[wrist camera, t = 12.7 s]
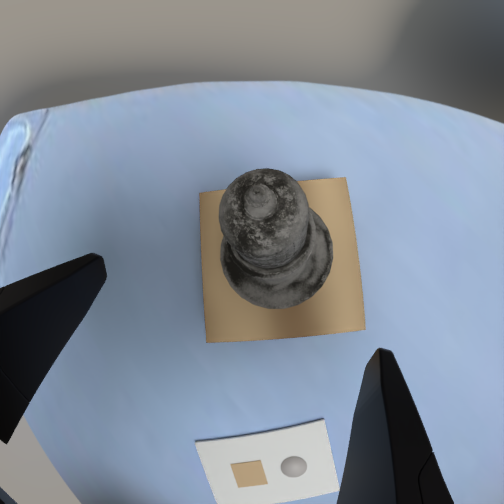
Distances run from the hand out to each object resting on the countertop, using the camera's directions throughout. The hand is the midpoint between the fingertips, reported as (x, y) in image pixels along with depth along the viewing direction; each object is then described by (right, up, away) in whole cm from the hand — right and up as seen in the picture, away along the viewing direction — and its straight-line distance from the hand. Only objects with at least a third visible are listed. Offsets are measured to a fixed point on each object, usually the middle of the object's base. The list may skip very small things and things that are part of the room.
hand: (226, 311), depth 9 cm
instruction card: (+2, -15, +11) cm, 19 cm away
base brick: (+3, +1, +14) cm, 14 cm away
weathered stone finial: (+2, +1, +11) cm, 11 cm away
